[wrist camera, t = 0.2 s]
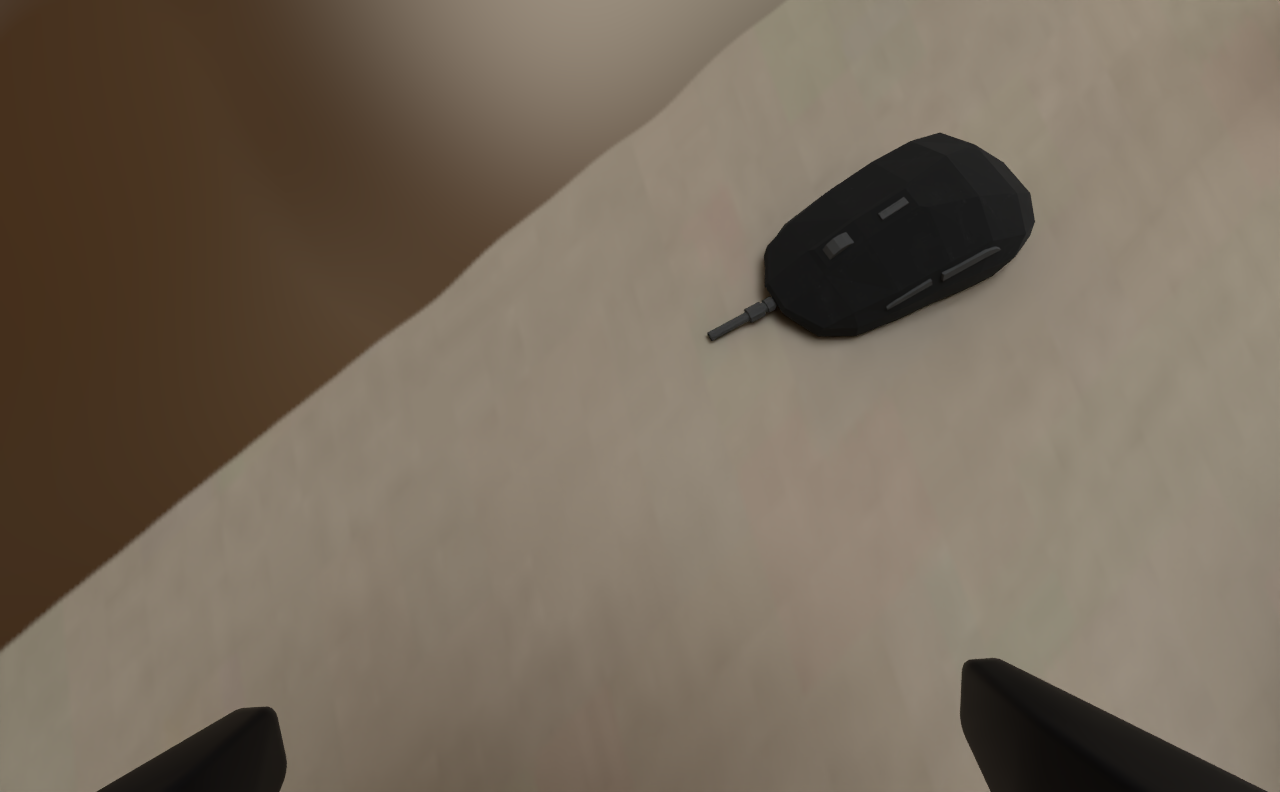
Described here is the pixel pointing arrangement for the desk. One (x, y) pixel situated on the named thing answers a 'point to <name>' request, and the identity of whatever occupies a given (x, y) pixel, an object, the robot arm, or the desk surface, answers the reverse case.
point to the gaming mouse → (895, 239)
